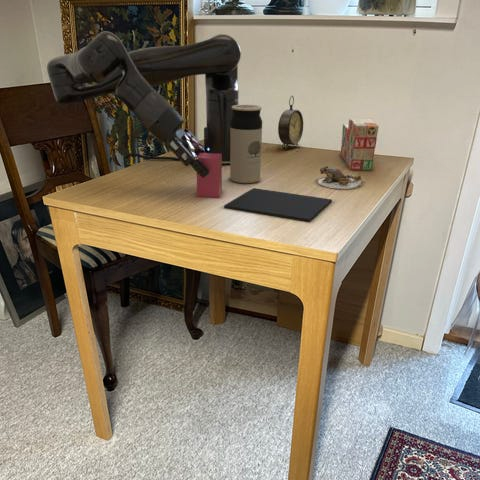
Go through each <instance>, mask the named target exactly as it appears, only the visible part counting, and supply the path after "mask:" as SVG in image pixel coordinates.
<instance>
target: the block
mask: <svg viewBox="0 0 480 480" xmlns="http://www.w3.org/2000/svg"><path fill="white" fill-rule="evenodd" d="M197 158H198V159H199V160H200V161H201V162H202V163H203V164H204V165H205V166H206V167H207V168H208V170H209V173H208V174H207V175H206V176H205V177H204V178H202V177H201V176H200V175H199V174H198V173H197V172H196V196H197V198H220V197H221V194H222V192H223V186H222V185H223V180H222V179H223V171H222V169H223V168H222V167H223V166H222V165H223V164H222V154H215V153H200V154H199V155H198V156H197Z"/></svg>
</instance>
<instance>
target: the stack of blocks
mask: <svg viewBox="0 0 480 480" xmlns="http://www.w3.org/2000/svg"><path fill="white" fill-rule="evenodd" d="M341 131H342V132H341V135H342V136H341V145H340V155H341V158H342V159H343V160H344V161H345V163H346V165H347V167H348V168H349V170H350V171H372V170H373V165H374V156H375V151H376V145H377V140H378V133H379V125H378V124H377V122H375V121H373V120H372V119H370V118H352V117H351V118H348V123H343V124H342V130H341Z"/></svg>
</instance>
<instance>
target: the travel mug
mask: <svg viewBox="0 0 480 480" xmlns="http://www.w3.org/2000/svg"><path fill="white" fill-rule="evenodd" d="M232 109H233V116H232V119H231V123H230V164H229V179H230V180H231V181H232V182H234V183H236V184H237V183H238V184H253V183H257V182H259V181H260V180H261V170H262V169H261V168H262V167H261V166H262V143H263V142H262V140H263V119H262V116H261V110H262V109H263V107H262V106H260V105H257V104H238V105H234V106H232Z"/></svg>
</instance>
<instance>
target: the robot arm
mask: <svg viewBox="0 0 480 480" xmlns="http://www.w3.org/2000/svg"><path fill="white" fill-rule="evenodd" d="M241 57H242V52H241V47H240V45H239V43H238V41H237V40H236V39H235V38H234V37H232V36H231V35H228V34H225V33H224V34H223V33H219V34H215V35H212V36H211V38H209V39H205V40H202V41H199V42H194V43H190V44H185V45H165V46H164V45H163V46H162V45H161V46H152V47H146V48H140V49H136V50H131V51H129V52H128V51H127V48H126V47H125V45H124V43H123V42H122V40H121V39H120V38H119V36H117V35H116V34H114V33H113V32H111V31H108V30H104V31H101V32H99V33H98V34H97V35H96V36H95V37H94V38H93V39H92V40H91V41H90V42H89V43H88V44H87V45H85V46H83V47H82V48H80V49H79V50H77V51H76V52H72V53H66V54H62V55H60V56H56V57H54V58H51V59H50V60H49V61H48V62H47V64H46V73H47V75H48V79H49V82H50V85H51V89H52V92H53V95H54V98H55V101H56V102H57V103H59V104H64V105H65V104H66V105H67V104H73V103H75V104H76V103H79V102H83V101H87V100H91V99H95V98H98V97H102V96H107V95H111V94H115V96H116V97H117V98H118V99H119V100H120V101H121V102H122V103H123V105H125V107H127V108H128V109H129V110H130V112H132V113H133V115H134V116H135V117H136V119H137V120H138V121H139V122H140V123H141V125H143V127H144V128H145V129H147V131H148V132H149V133H150V134H151V135H152V136H153V137H154V138H155V139H156V140H157V141H158V142H159V143H160V144H161V145H163V144H165V143H167V141H169V142H170V143H169V144H168V145H167V147H168V149H169V150H170V151H171V152H172V153H173V155H175V157H174V156H151V155H149V156H147V155H143V154H139V153H135V152H131V153H128V154H126V156H125V157H124V160H125V159H126V160H127V159H128V158H130V157H138V158H142V159H145V160H170V161H177V162H181V163H182V164H183V165H184V166H185V167H191V168H192V169H193V170H194V171H195V172H196V174H197V173H198V174H199V175H200V176H201V177H202V178H204V177H205V176H206V175H207V174H208V173H209V170H208V168H207V167H206V166H205V165H204V164H203V163H202V162H201V161H200V160H199V159H198V158H197V156H198V155H199V154H200V153H215V154H222V165H230V123H231V119H232V116H233V109H232V106H234V105H240V104H239V101H240V100H239V98H240V97H239V95H240V94H239V93H240V91H239V82H238V81H239V80H238V79H239V77H238V73H239V72H238V71H239V67H238V66H239V63H240V61H241ZM200 75H204V86H205V107H206V108H205V111H206V115H205V116H206V126H205V127H204V128H203V143H202V142H201V141H200V140H199V139H198V138H197V137H196V136H195V135H194V134H193V133H192V132H191V131H190V129H188V128H187V127H186V128H185V129H182V125H183V124H184V123H185V119H184V118H183V116H182V115H181V114H180V113H179V112H178V111H177V110H176V109H175V108H174V107H173V105H171V104H170V102H169V101H167V99H166V98H165V97H164V96H163V95H162V94H161V93H159V92H158V91H157V90H156V89H155V88H154V87H156V86H161V85H165V84H169V83H172V82H176V81H179V80H182V79H185V78H189V77H193V76H200ZM91 83H93V84H91ZM88 84H90V85H88Z"/></svg>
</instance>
